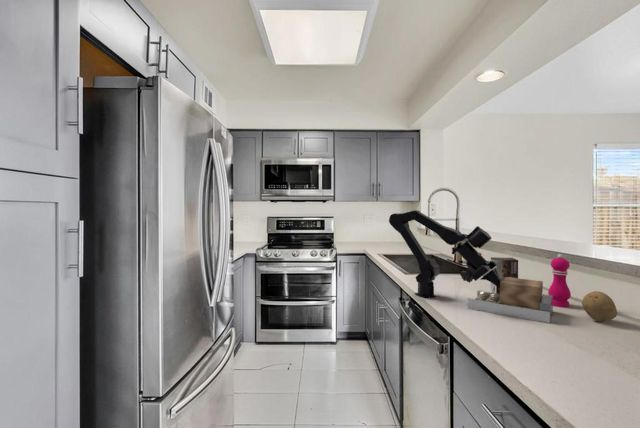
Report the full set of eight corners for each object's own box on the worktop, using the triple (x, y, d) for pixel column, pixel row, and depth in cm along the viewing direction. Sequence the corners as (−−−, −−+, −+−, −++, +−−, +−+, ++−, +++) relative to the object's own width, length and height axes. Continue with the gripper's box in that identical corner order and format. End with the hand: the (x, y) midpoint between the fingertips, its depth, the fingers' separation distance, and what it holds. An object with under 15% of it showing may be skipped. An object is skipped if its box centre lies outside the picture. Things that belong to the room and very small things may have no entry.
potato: (579, 314, 119) (579, 287, 119) (611, 319, 115) (612, 290, 115) (583, 322, 111) (584, 292, 111) (618, 327, 107) (619, 296, 107)
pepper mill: (550, 306, 130) (551, 254, 129) (545, 301, 136) (547, 252, 136) (573, 308, 127) (574, 255, 126) (567, 303, 134) (568, 253, 133)
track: (467, 308, 126) (467, 292, 126) (477, 299, 139) (478, 284, 139) (549, 323, 111) (550, 305, 110) (552, 311, 123) (553, 295, 123)
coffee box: (511, 293, 148) (512, 257, 148) (518, 297, 141) (519, 259, 141) (489, 293, 149) (490, 256, 148) (495, 297, 142) (496, 259, 142)
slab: (499, 304, 121) (500, 282, 121) (505, 297, 131) (505, 276, 131) (539, 310, 114) (539, 287, 114) (542, 302, 123) (542, 281, 123)
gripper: (462, 265, 144) (490, 295, 137) (448, 271, 129) (479, 305, 122) (482, 248, 139) (512, 278, 132) (471, 253, 124) (504, 287, 117)
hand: (502, 287), depth 126 cm, fingers closed, pressing on slab
